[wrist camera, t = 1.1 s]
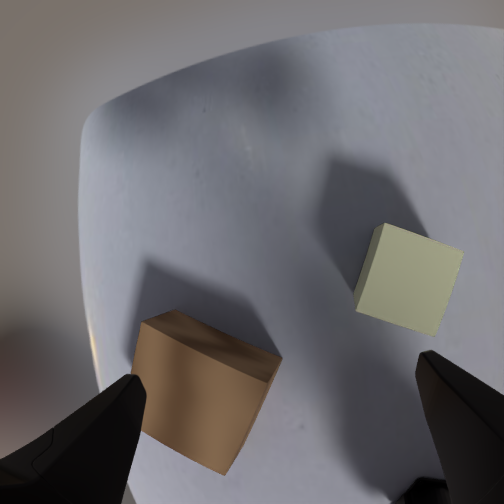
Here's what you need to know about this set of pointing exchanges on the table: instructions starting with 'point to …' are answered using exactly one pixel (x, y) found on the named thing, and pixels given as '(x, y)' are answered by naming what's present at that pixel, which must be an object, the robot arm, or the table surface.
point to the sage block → (407, 279)
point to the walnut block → (200, 387)
